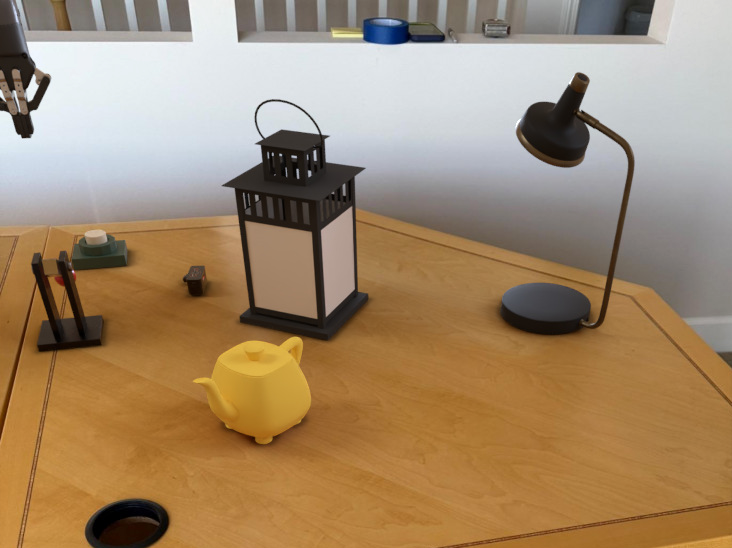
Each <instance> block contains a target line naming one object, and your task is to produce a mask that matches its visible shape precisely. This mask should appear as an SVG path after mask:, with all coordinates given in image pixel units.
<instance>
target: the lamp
mask: <svg viewBox="0 0 732 548" xmlns="http://www.w3.org/2000/svg"><path fill="white" fill-rule="evenodd" d="M590 82H591V80H590V77H589V76H588V74H585V73H584V72H581V71H577V72H575V73H574V75H573V76H572V77H571V79H570V80H569V83H568V85H567V86H566V88H565V89H564V91H563V92H562V94H561V95H560V97H559V99H558V101H557V102H552V101H537V102H534V103H532V104H530V105H529V106H528V108H527V109H526V110H525V112H524V113H523V114H522V116H521V118H520V119H519V120H518V121H517V122H516V124H515V135H516V138H517V140H518V142H519V143H520V145H521V146H522V147H523V148H524V149H525V150H526V152H527V153H528V154H530V155H531V156H533V157H534V158H536V159H537V160H539V161H541V162H542V163H545V164H547V165H550V166H552V167H557V168H563V169H570V168H575V167H577V166H579V165H581V164H582V163H583V162H584V159H585V158H586V151H587V149H588V146H589V143H590V140H591V135H590V129H589V128H588V126H589V127H590V128H592V129H594V130H597V131H598V132H600V133H601V134H603V135H605V136H606V137H608V138H609V139H610V140H611V141H613V142H615V143H616V144H617V145H619V147H621V148H622V149H623V151H624V153H625V155H626V160H627V172H626V177H625V183H624V187H623V193H622V198H621V202H620V209H619V213H618V219H617V224H616V228H615V229H616V230H615V233H614V239H613V244H612V250H611V254H610V260H609V264H608V271H607V274H606V275H607V276H606V281H605V287H604V291H603V296H602V303H601V307H600V310H599V316H598V318H597V320H596V321H595V322H594V323H591V322H590V317H591V315H590V314H591V308H592V303H591V301H590V299H589V298H588V297H587V296H586V295H585V294H584V293H582V292H581V291H579V290H577V289H575V288H572V287H570V286H567V285H563V284H559V283H552V282H527V283H522V284H518V285H515V286H512V287H510V288H509V289H507V290H506V291H505V292H504V293H503V295H502V297H501V304H500V309H499V313H500V316H501V317H502V319H503V320H504V321H505V322H507V323H508V324H509V325H511V326H513V327H514V328H517V329H519V330H522V331H525V332H528V333H533V334H537V335H550V336H551V335H552V336H553V335H565V334H570V333H573V332H576V331H579V330H581V329H583V328H585V329H588V330H595V329H598V328H599V327H601V326H602V325H603V323H604V322H605V319H606V315H607V311H608V307H609V302H610V298H611V292H612V286H613V283H614V278H615V277H614V276H615V272H616V268H617V261H618V258H619V257H618V256H619V251H620V248H621V247H620V246H621V241H622V236H623V231H624V226H625V221H626V216H627V211H628V205H629V201H630V196H631V190H632V184H633V179H634V175H635V164H636V161H635V154H634V151H633V148H632V146H631V145H630V143H629V142H628V141H627V140H626V139H625V138H624V137H623V136H622V135H620V134H619V133H617V132H616V131H614V130H613V129H611V128H610V127H608V126H606V125H605V124H603V123H602V122H601V121H600V120H599V119H598V118H596V117H594V116H593V115H591V114H590V113H588V112H587V111H585V110H583V109H581V105H582V103H583V100H584V97H585V95H586V92H587V90H588V87H589V85H590Z"/></svg>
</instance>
